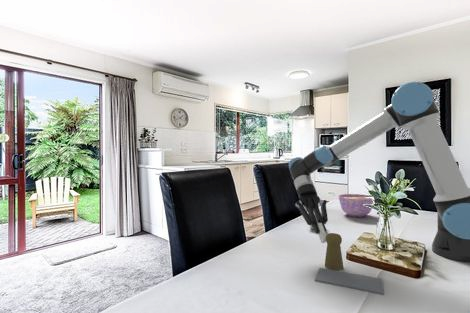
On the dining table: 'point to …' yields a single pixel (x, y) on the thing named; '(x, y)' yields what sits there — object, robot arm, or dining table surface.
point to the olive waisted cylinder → (333, 252)
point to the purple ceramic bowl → (355, 204)
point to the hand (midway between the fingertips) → (324, 241)
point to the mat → (350, 280)
